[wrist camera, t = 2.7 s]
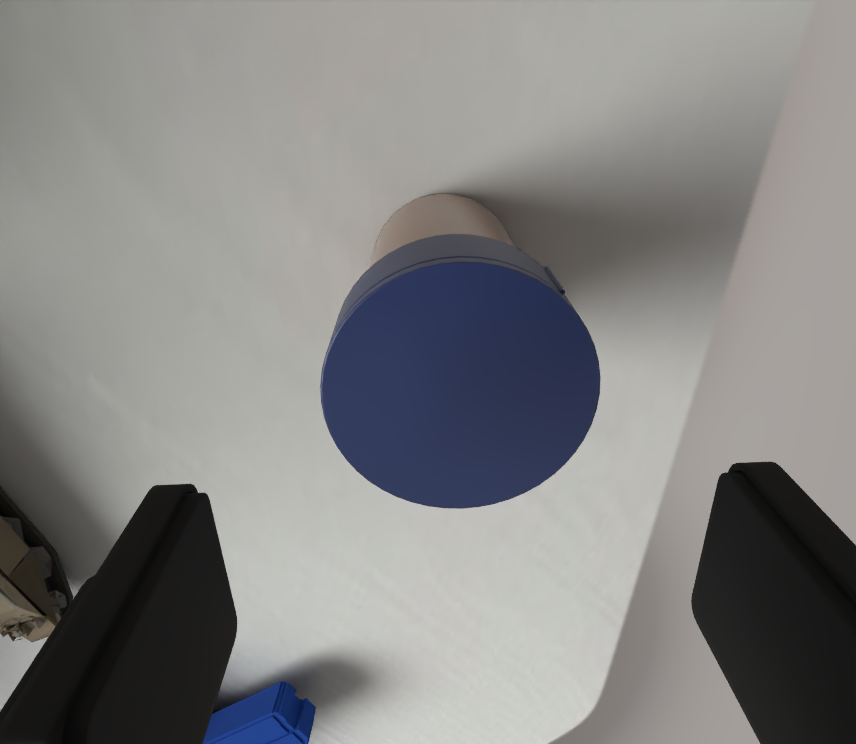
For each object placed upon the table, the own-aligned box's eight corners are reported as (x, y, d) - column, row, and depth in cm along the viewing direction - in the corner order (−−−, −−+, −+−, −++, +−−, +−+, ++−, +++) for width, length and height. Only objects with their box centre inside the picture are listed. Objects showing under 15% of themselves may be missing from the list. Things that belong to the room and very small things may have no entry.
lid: (455, 173, 14) (463, 192, 12) (626, 345, 16) (661, 389, 14) (284, 358, 16) (263, 404, 14) (455, 489, 18) (461, 549, 16)
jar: (441, 161, 22) (458, 225, 12) (541, 261, 23) (621, 383, 14) (344, 267, 23) (297, 393, 14) (444, 353, 25) (460, 516, 16)
